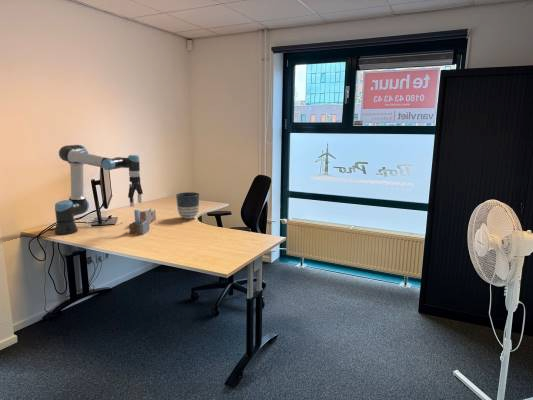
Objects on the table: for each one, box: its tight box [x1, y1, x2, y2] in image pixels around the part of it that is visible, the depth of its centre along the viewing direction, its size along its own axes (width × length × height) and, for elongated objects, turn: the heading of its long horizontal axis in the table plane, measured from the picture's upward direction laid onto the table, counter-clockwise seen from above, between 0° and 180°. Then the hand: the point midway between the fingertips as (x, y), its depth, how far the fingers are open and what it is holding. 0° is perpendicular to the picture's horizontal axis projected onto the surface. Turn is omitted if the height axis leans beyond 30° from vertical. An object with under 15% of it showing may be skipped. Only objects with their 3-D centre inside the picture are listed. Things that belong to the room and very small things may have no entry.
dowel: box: [133, 209, 140, 225], centre depth 280 cm, size 4×4×14 cm
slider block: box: [128, 221, 143, 235], centre depth 282 cm, size 9×9×7 cm
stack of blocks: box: [139, 207, 157, 225], centre depth 309 cm, size 21×6×12 cm, turn 176°
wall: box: [140, 220, 150, 236], centre depth 281 cm, size 2×12×8 cm, turn 176°
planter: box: [175, 191, 200, 220], centre depth 324 cm, size 20×20×21 cm
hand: (136, 204), depth 278 cm, fingers open, 13 cm apart
